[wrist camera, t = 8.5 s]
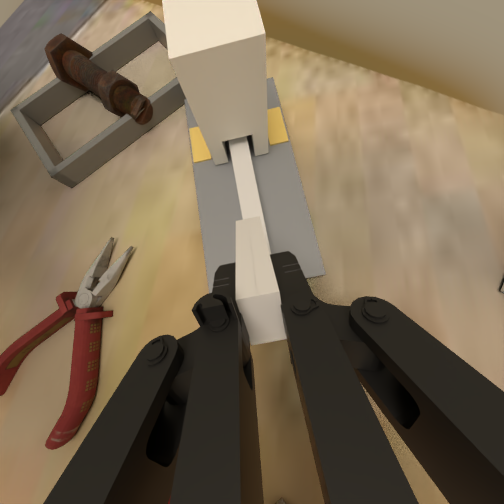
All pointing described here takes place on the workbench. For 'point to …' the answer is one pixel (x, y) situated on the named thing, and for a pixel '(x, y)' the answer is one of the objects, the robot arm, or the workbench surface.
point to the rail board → (272, 201)
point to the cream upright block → (221, 69)
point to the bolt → (96, 79)
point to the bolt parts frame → (63, 94)
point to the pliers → (84, 346)
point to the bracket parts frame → (281, 501)
